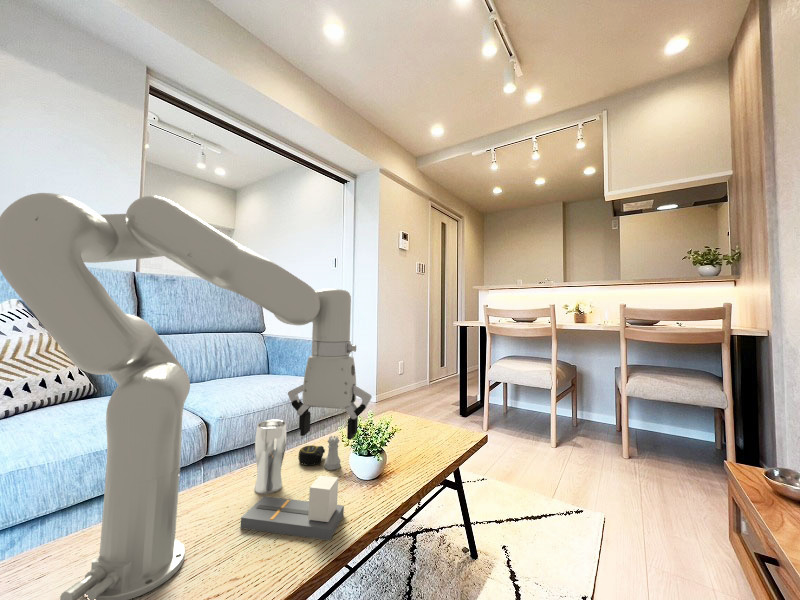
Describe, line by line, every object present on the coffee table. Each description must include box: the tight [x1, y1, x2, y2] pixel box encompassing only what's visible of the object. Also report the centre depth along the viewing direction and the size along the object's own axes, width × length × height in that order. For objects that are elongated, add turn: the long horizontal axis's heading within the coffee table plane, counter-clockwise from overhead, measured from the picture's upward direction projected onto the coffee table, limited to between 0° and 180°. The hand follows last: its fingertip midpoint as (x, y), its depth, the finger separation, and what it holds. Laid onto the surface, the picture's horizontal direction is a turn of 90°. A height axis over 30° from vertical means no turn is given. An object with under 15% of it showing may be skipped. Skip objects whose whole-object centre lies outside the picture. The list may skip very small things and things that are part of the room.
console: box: [240, 495, 345, 541], centre depth 67 cm, size 8×18×2 cm, turn 82°
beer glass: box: [254, 419, 287, 495], centre depth 80 cm, size 7×7×15 cm
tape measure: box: [297, 444, 326, 466], centre depth 95 cm, size 7×7×4 cm
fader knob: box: [308, 475, 339, 522], centre depth 66 cm, size 5×4×6 cm
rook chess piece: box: [323, 435, 341, 471], centre depth 92 cm, size 4×4×8 cm
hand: (327, 435), depth 67 cm, fingers open, 9 cm apart
